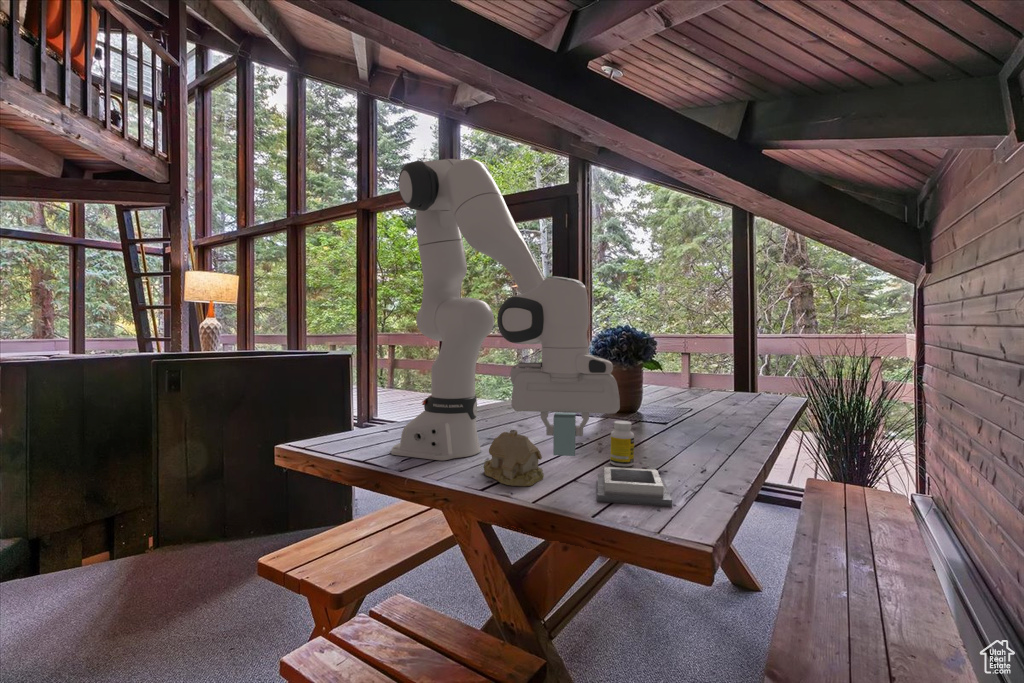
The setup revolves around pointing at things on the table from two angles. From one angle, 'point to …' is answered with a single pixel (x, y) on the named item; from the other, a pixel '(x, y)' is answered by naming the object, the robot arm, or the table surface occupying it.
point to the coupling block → (564, 434)
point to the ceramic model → (514, 460)
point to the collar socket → (632, 487)
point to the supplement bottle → (622, 444)
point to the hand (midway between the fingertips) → (564, 435)
